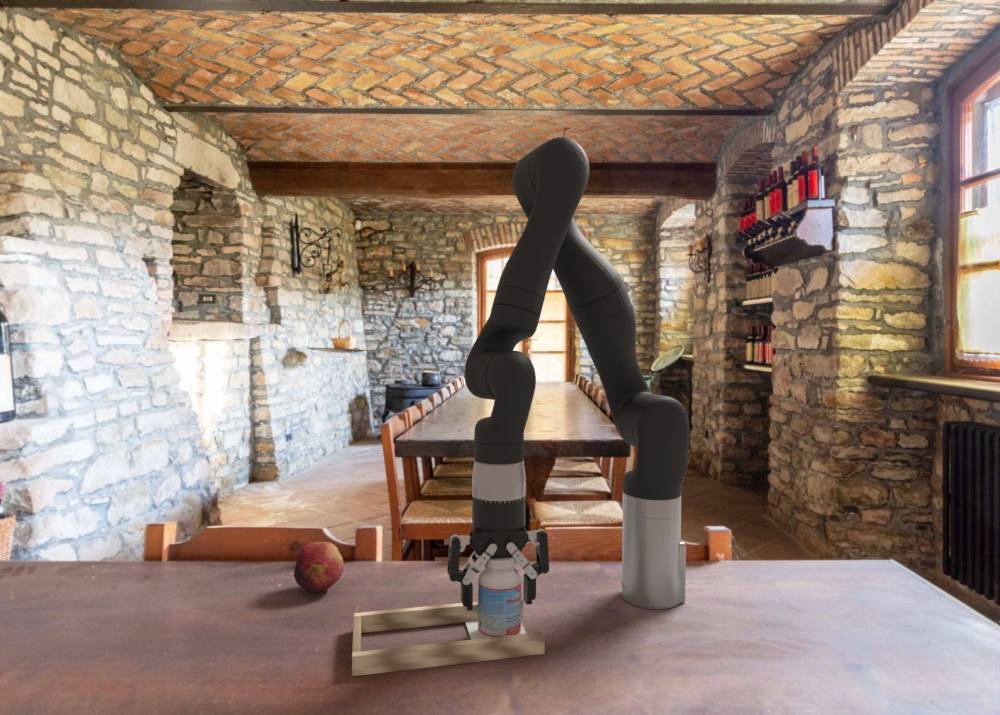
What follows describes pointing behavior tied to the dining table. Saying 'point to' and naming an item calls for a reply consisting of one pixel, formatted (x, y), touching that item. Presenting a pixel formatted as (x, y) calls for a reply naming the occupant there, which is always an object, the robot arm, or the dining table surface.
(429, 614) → the bay
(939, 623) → the dining table surface
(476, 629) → the front pad
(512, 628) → the pill bottle
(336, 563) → the fruit
